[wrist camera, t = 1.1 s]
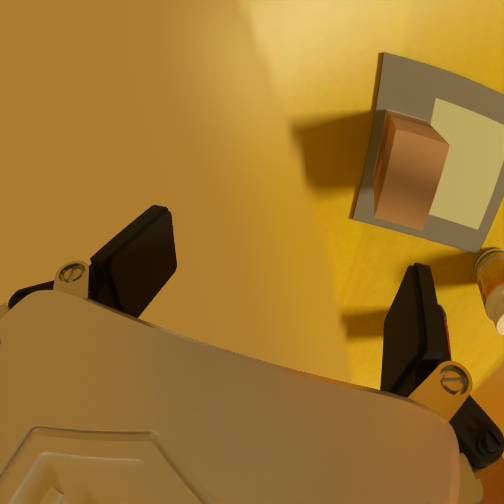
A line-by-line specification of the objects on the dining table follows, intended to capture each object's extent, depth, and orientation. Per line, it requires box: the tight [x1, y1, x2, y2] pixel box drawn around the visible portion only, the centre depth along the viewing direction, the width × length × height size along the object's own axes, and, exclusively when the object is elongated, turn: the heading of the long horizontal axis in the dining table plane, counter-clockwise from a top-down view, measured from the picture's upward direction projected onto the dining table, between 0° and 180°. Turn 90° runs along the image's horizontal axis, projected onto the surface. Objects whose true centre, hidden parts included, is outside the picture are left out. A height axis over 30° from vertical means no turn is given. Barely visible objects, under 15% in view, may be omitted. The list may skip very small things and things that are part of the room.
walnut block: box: [373, 110, 450, 231], centre depth 23 cm, size 7×4×9 cm, turn 177°
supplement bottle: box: [474, 248, 504, 335], centre depth 25 cm, size 5×5×10 cm
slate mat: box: [353, 52, 504, 255], centre depth 25 cm, size 18×16×1 cm
